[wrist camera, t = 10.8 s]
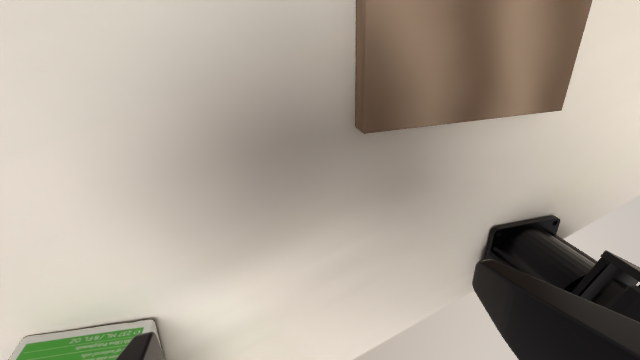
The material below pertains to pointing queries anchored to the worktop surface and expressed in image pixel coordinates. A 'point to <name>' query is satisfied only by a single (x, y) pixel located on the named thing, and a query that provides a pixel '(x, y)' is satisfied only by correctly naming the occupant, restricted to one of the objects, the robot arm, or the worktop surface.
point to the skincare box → (82, 342)
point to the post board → (462, 59)
